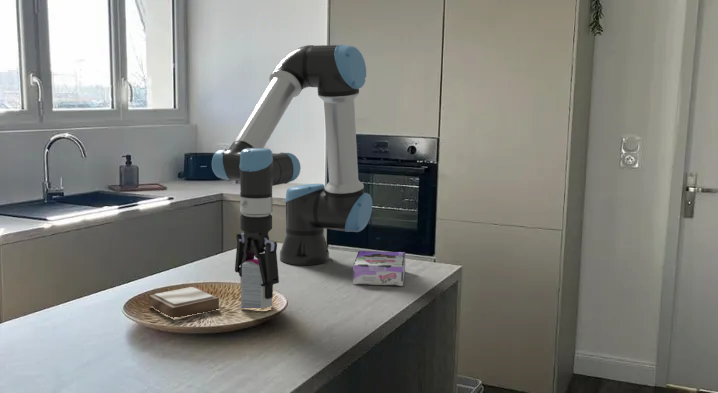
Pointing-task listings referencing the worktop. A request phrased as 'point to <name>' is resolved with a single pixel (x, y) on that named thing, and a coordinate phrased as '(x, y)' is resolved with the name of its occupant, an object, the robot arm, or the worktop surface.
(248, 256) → the robot arm
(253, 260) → the supplement box
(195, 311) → the stand
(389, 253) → the candy box
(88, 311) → the worktop surface
